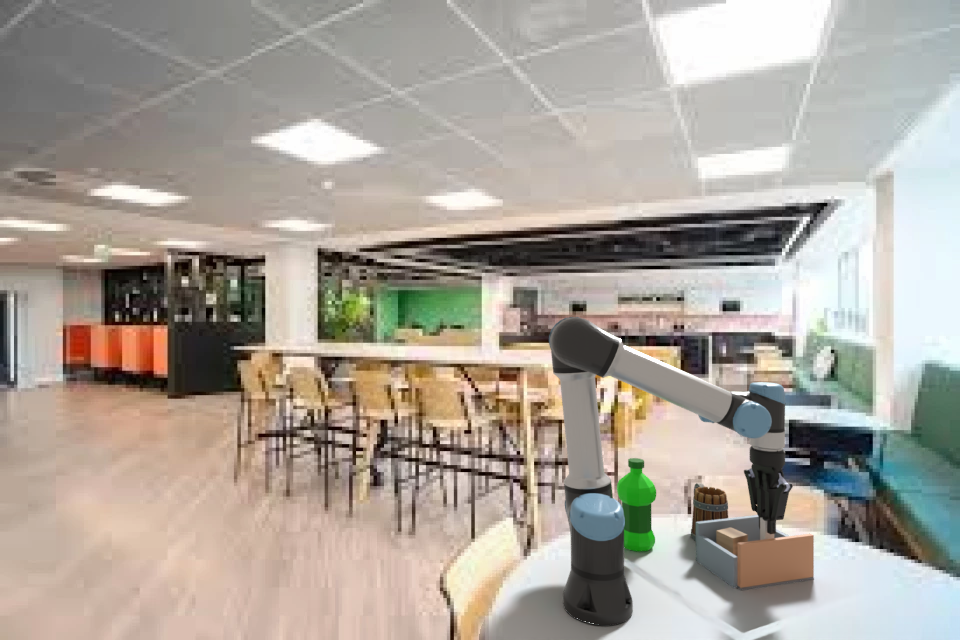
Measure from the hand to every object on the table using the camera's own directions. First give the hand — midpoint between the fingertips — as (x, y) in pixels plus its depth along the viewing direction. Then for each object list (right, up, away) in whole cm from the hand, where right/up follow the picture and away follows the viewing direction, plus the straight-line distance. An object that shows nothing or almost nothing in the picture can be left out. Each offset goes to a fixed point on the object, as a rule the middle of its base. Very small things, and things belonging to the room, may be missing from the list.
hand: (767, 544), depth 128 cm
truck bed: (-1, -9, +5) cm, 11 cm away
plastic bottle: (-26, -10, +19) cm, 33 cm away
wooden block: (-6, -8, +5) cm, 11 cm away
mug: (-4, -9, +25) cm, 27 cm away
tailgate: (+1, -8, -3) cm, 8 cm away
